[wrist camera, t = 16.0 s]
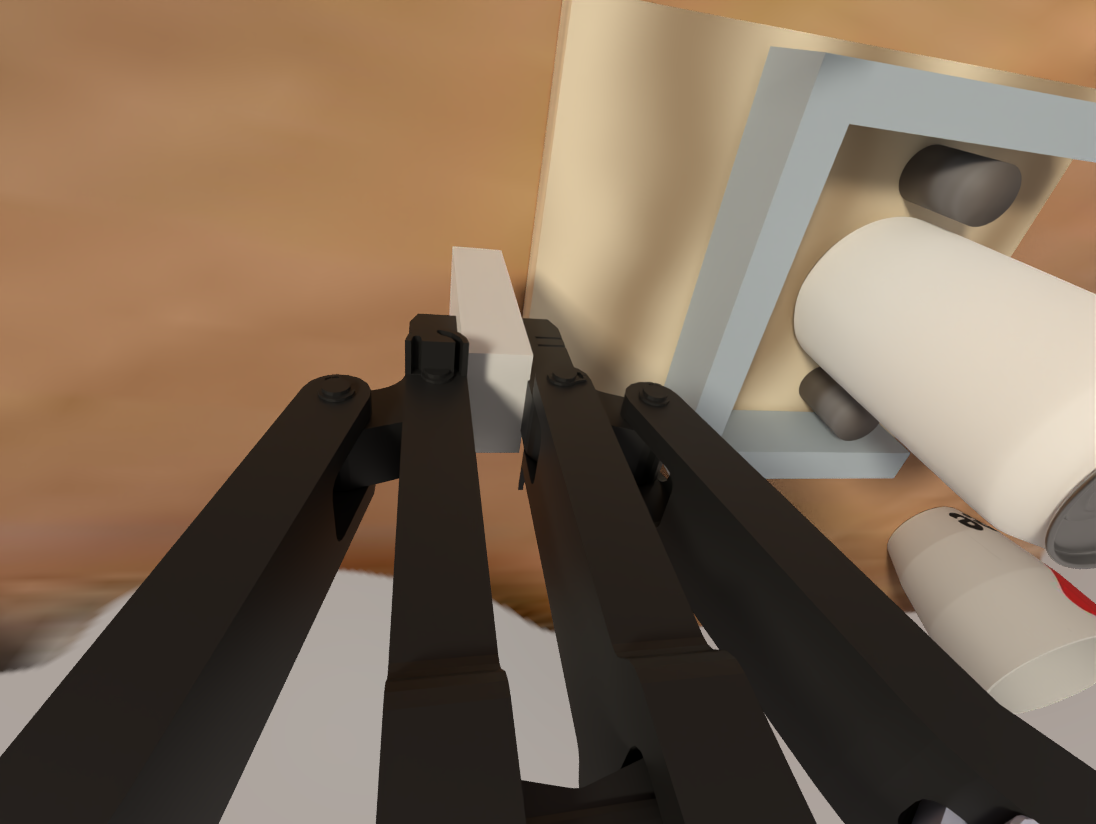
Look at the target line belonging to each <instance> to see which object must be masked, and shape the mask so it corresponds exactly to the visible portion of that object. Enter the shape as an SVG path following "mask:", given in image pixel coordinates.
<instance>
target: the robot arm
mask: <svg viewBox="0 0 1096 824" xmlns="http://www.w3.org/2000/svg"><path fill="white" fill-rule="evenodd" d="M521 436H522V440H523V444H524V453H523V459H522V466H521V472H520V479H519V487H518V490H523V485H524V482H525V484H526V489H527V494H528V499H529V504H530V509H531V514H532V519H533V524H534V529H535V534H536V539H537V544H538V549H539V554H540V559H541V564H542V569H543V574H544V579H545V584H546V589H547V593H548V598H549V603H550V608H551V613H552V618H553V623H554V628H555V633H556V638H557V642H558V647H559V653H560V658H561V663H562V668H563V672H564V678H565V683H566V688H567V692H568V697H569V702H570V708H571V713H572V718H573V722H574V727H575V733H576V737H577V743H578V749H579V788H566V787H560V786H554V785H548V784H541V783H535V782H529V781H523V780H521V776H520V769H519V760H518V752H517V744H516V736H515V728H514V720H513V712H512V704H511V696H510V689H509V683H508V679H507V675H506V672H505V671H504V670H502V669H501V667H500V664H499V657H498V649H497V640H496V631H495V622H494V614H493V604H492V595H491V586H490V577H489V568H488V559H487V550H486V542H485V533H484V524H483V515H482V506H481V497H480V488H479V479H478V470H477V461H476V453H519V450H520V443H521ZM662 464H664V465H665V467H666V468H667V469H668V471H669V472H670V475H669V477H668V479H666V478H665V477H664V476H663V475H662V473H661V472H660V470H661V467H662ZM398 478H399V491H398V508H397V526H396V543H395V560H394V578H393V596H392V612H391V613H392V614H391V630H390V647H389V665H388V676H387V680H386V683H385V691H384V703H383V718H382V735H381V750H380V766H379V782H378V799H377V815H376V824H816V821H815V819H814V817H813V815H812V813H811V811H810V809H809V807H808V805H807V802H806V800H805V798H804V796H803V794H802V792H801V790H800V788H799V786H798V784H797V781H796V779H795V777H794V776H793V773H792V771H791V769H790V767H789V765H788V763H787V760H786V759H785V756H784V754H783V752H782V750H781V748H780V746H779V744H778V741H777V740H776V737H775V735H774V733H773V731H772V729H771V727H770V725H769V723H768V721H767V718H768V719H769V721H770V722H771V723H772V725H773V726H774V728H775V729H776V730H777V732H778V733H779V735H780V736H781V737H782V739H783V740H784V742H785V743H786V745H787V746H788V747H789V749H790V750H791V752H792V753H793V754H794V756H795V757H796V759H797V760H798V762H799V763H800V764H801V766H802V767H803V769H804V770H805V771H806V773H807V774H808V776H809V777H810V779H811V780H812V781H813V783H814V784H815V785H816V787H817V788H818V790H819V791H820V792H821V793H822V795H823V796H824V797H825V799H826V800H827V801H828V803H829V804H830V805H831V807H832V808H833V809H834V810H835V812H836V813H837V814H838V816H839V817H840V818H841V820H842V821H843V822H844V823H845V824H1096V770H1094V769H1093V768H1091V767H1090V766H1088V765H1087V764H1085V763H1084V762H1083V761H1081V760H1080V759H1078V758H1077V757H1075V756H1074V755H1072V754H1071V753H1070V752H1068V751H1067V750H1065V749H1064V748H1062V747H1061V746H1059V745H1058V744H1057V743H1055V742H1054V741H1052V740H1051V739H1049V738H1048V737H1046V736H1045V735H1043V734H1042V733H1041V732H1039V731H1038V730H1036V729H1035V728H1033V727H1032V726H1030V725H1029V724H1028V723H1026V722H1025V721H1023V720H1022V719H1020V718H1019V717H1017V716H1016V715H1015V714H1013V713H1012V712H1010V711H1009V710H1007V709H1006V708H1005V707H1003V706H1002V705H1000V704H999V703H998V702H997V701H996V700H995V699H994V698H993V697H992V696H991V695H990V694H989V693H988V692H987V691H986V690H984V689H983V688H982V687H981V686H980V685H979V684H978V683H977V682H976V681H975V680H974V679H973V678H972V677H971V676H970V675H969V674H968V673H967V672H966V671H965V670H964V669H963V668H962V667H961V666H959V665H958V664H957V663H956V662H955V661H954V660H953V659H952V658H951V657H950V656H949V655H948V654H947V653H946V652H945V651H944V650H943V649H942V648H941V647H940V646H939V645H938V644H937V643H936V642H935V641H933V640H932V639H931V638H930V637H929V636H928V635H927V634H926V633H925V632H924V631H923V630H922V629H921V628H920V627H919V626H918V625H917V624H916V623H915V622H914V621H913V620H912V619H910V617H908V616H907V615H906V614H905V613H904V612H903V611H902V610H901V609H900V608H899V607H898V606H897V605H896V604H895V603H894V602H893V601H892V600H891V599H890V598H889V597H888V596H887V595H886V594H885V593H884V592H883V591H881V590H880V589H879V588H878V587H877V586H876V585H875V584H874V583H873V582H872V581H871V580H870V579H869V578H868V577H867V576H866V575H865V574H864V573H863V572H862V571H861V570H860V569H859V568H858V567H857V566H855V565H854V564H853V563H852V562H851V561H850V560H849V559H848V558H847V557H846V556H845V555H844V554H843V553H842V552H841V551H840V550H839V549H838V548H837V547H836V546H835V545H834V544H833V543H832V542H831V541H829V540H828V539H827V538H826V537H825V536H824V535H823V534H822V533H821V532H820V531H819V530H818V529H817V528H816V527H815V526H814V525H813V524H812V523H811V522H810V521H809V520H808V519H807V518H806V517H805V516H803V515H802V514H801V513H800V512H799V511H798V510H797V509H796V508H795V507H794V506H793V505H792V504H791V503H790V502H789V501H788V500H787V499H786V498H785V497H784V496H783V495H782V494H781V493H780V492H778V491H777V490H776V489H775V488H774V487H773V486H772V485H771V484H770V483H769V482H768V481H767V480H766V479H765V478H764V477H763V476H762V475H761V474H760V473H759V472H758V471H757V470H756V469H755V468H754V467H752V466H751V465H750V464H749V463H748V462H747V461H746V460H745V459H744V458H743V457H742V456H741V455H740V454H739V453H738V452H737V451H736V450H735V449H734V448H733V447H732V446H731V445H730V444H729V443H728V442H726V441H725V440H724V439H723V438H722V437H721V436H720V435H719V434H718V433H717V432H716V431H715V430H714V429H713V428H712V427H711V426H710V425H709V424H708V423H707V422H706V421H705V420H704V419H703V418H702V417H700V416H699V415H698V414H697V413H696V412H695V411H694V410H693V409H692V408H691V407H690V406H689V405H688V404H687V403H686V402H685V401H684V400H683V399H682V398H681V397H680V396H679V395H678V394H676V393H675V392H673V391H672V390H671V389H669V388H667V387H664V386H662V385H661V384H658V383H653V382H637V383H633V384H630V385H629V386H628V387H627V388H626V391H625V394H624V397H622V396H618V395H613V394H609V393H605V392H601V391H598V390H596V389H595V387H594V385H593V383H592V381H591V379H590V378H589V376H588V375H587V374H586V373H584V372H583V371H581V370H580V369H578V368H575V367H574V366H573V364H572V361H571V359H570V356H569V354H568V351H567V349H566V347H565V344H564V342H563V340H562V337H561V334H560V332H559V329H558V328H557V327H556V326H555V325H554V324H552V323H551V322H550V321H549V320H548V319H532V318H522V317H521V314H520V310H519V307H518V304H517V300H516V297H515V294H514V291H513V287H512V284H511V281H510V277H509V274H508V271H507V268H506V264H505V261H504V258H503V254H502V251H501V250H491V249H479V248H467V247H455V246H453V249H452V271H451V293H450V315H433V314H418V315H416V316H415V317H414V318H413V319H412V320H411V321H410V327H409V334H408V336H407V338H406V340H405V377H404V378H403V379H402V380H401V381H399V382H398V383H396V384H394V385H392V386H390V387H386V388H382V389H378V390H371V389H370V387H369V385H368V384H367V383H366V382H364V381H363V380H361V379H360V378H357V377H353V376H349V375H339V374H336V375H327V376H322V377H320V378H317V379H314V380H312V381H310V382H309V383H307V384H306V385H305V386H304V387H303V388H302V389H301V390H300V391H299V393H298V394H297V395H296V396H295V397H294V399H293V400H292V401H291V402H290V404H289V405H288V406H287V407H286V408H285V410H284V411H283V412H282V413H281V415H280V416H279V417H278V418H277V419H276V421H275V422H274V423H273V424H272V426H271V427H270V428H269V429H268V430H267V432H266V433H265V434H264V435H263V437H262V438H261V439H260V440H259V441H258V443H257V444H256V445H255V446H254V448H253V449H252V450H251V451H250V452H249V454H248V455H247V456H246V457H245V459H244V460H243V461H242V462H241V463H240V465H239V466H238V467H237V468H236V470H235V471H234V472H233V473H232V474H231V476H230V477H229V478H228V479H227V481H226V482H225V483H224V484H223V485H222V487H221V488H220V489H219V490H218V492H217V493H216V494H215V495H214V496H213V498H212V499H211V500H210V501H209V503H208V504H207V505H206V506H205V507H204V509H203V510H202V511H201V512H200V514H199V515H198V516H197V517H196V518H195V520H194V521H193V522H192V523H191V525H190V526H189V527H188V528H187V529H186V531H185V532H184V533H183V534H182V536H181V537H180V538H179V539H178V540H177V542H176V543H175V544H174V545H173V547H172V548H171V549H170V550H169V551H168V553H167V554H166V555H165V556H164V558H163V559H162V560H161V561H160V562H159V564H158V565H157V566H156V567H155V569H154V570H153V571H152V572H151V573H150V575H149V576H148V577H147V578H146V580H145V581H144V582H143V583H142V584H141V586H140V587H139V588H138V589H137V590H136V592H135V593H134V594H133V595H132V597H131V598H130V599H129V600H128V601H127V603H126V604H125V605H124V606H123V608H122V609H121V610H120V611H119V612H118V614H117V615H116V616H115V617H114V619H113V620H112V621H111V622H110V624H109V625H108V626H107V627H106V628H105V630H104V631H103V632H102V633H101V634H100V636H99V637H98V638H97V639H96V641H95V642H94V643H93V644H92V645H91V647H90V648H89V649H88V650H87V652H86V653H85V654H84V655H83V656H82V658H81V659H80V660H79V661H78V663H77V664H76V665H75V666H74V667H73V669H72V670H71V671H70V672H69V674H68V675H67V676H66V677H65V678H64V680H63V681H62V682H61V684H60V685H59V686H58V687H57V688H56V689H55V691H54V692H53V693H52V694H51V696H50V697H49V698H48V700H46V702H45V703H44V704H43V705H42V707H41V708H40V709H39V711H38V712H37V713H36V714H35V715H34V716H33V718H32V719H31V720H30V721H29V723H28V724H27V725H26V726H25V727H24V729H23V730H22V731H21V732H20V733H19V735H18V736H17V737H16V738H15V740H14V741H13V742H12V743H11V744H10V746H9V747H8V748H7V749H6V751H5V752H4V753H3V754H2V755H1V757H0V824H219V822H220V820H221V817H222V815H223V813H224V811H225V809H226V807H227V805H228V803H229V800H230V798H231V796H232V794H233V792H234V790H235V788H236V786H237V784H238V781H239V779H240V777H241V775H242V773H243V771H244V768H245V766H246V764H247V762H248V760H249V758H250V756H251V754H252V752H253V750H254V747H255V745H256V743H257V741H258V739H259V737H260V735H261V732H262V730H263V728H264V726H265V724H266V722H267V720H268V718H269V716H270V713H271V711H272V709H273V707H274V705H275V703H276V700H277V699H278V696H279V694H280V692H281V690H282V688H283V686H284V684H285V682H286V679H287V677H288V675H289V673H290V671H291V669H292V667H293V664H294V662H295V660H296V658H297V656H298V654H299V652H300V650H301V647H302V645H303V643H304V641H305V639H306V637H307V634H308V633H309V630H310V628H311V626H312V624H313V622H314V620H315V618H316V615H317V613H318V611H319V609H320V607H321V605H322V603H323V601H324V599H325V597H326V594H327V592H328V590H329V588H330V586H331V584H332V582H333V579H334V577H335V575H336V573H337V571H338V569H339V567H340V565H341V563H342V560H343V558H344V556H345V554H346V552H347V550H348V548H349V546H350V543H351V541H352V539H353V537H354V535H355V533H356V531H357V529H358V526H359V524H360V522H361V520H362V518H363V516H364V514H365V512H366V509H367V507H368V505H369V503H370V501H371V499H372V497H373V495H374V491H375V484H378V483H382V482H386V481H390V480H394V479H398ZM693 613H694V614H695V616H696V617H697V619H698V620H699V621H700V623H701V624H702V626H703V627H704V629H705V630H706V631H707V633H708V634H709V636H710V637H711V638H712V640H713V641H714V643H715V644H716V646H717V647H718V648H719V650H714V649H712V648H711V647H710V646H709V645H708V644H707V642H706V641H705V639H704V637H703V635H702V633H701V630H700V628H699V626H698V623H697V621H696V619H695V616H694V614H693ZM764 713H765V714H764ZM765 715H766V716H767V718H766V716H765Z"/></svg>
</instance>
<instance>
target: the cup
mask: <svg viewBox="0 0 1096 824" xmlns="http://www.w3.org/2000/svg"><path fill="white" fill-rule="evenodd" d="M887 549H888V552H889V555H890V557H891V560H892V562H893V565H894V567H895V570H896V573H897V575H898V578H899V580H900V583H901V586H902V588H903V590H904V591H905V593H906V595H907V597H908V598H909V600H910V602H911V604H912V606H913V607H914V609H915V611H916V613H917V615H918V616H919V618H920V620H921V622H922V623H923V625H924V627H925V629H926V630H927V632H928V634H929V636H930V638H931V639H932V640H933V641H935V642H936V643H937V644H938V645H939V646H940V647H941V648H942V649H943V650H944V651H945V652H946V653H947V654H948V655H949V656H950V657H951V658H952V659H953V660H954V661H955V662H956V663H957V664H958V665H959V666H961V667H962V668H963V669H964V670H965V671H966V672H967V673H968V674H969V675H970V676H971V677H972V678H973V679H974V680H975V681H976V682H977V683H978V684H979V685H980V686H981V687H982V688H983V689H984V690H986V691H987V692H988V693H989V694H990V695H991V696H992V697H993V698H994V699H995V700H996V701H997V702H998V703H999V704H1000V705H1002V706H1003V707H1005V708H1006V709H1007V710H1009V711H1010V712H1012V713H1013V714H1019V713H1023V712H1027V711H1032V710H1035V709H1039V708H1042V707H1045V706H1048V705H1050V704H1053V703H1056V702H1059V701H1061V700H1064V699H1066V698H1068V697H1071V696H1072V695H1075V694H1077V693H1079V692H1081V691H1083V690H1085V689H1087V688H1089V687H1091V686H1092V685H1094V684H1096V604H1095V603H1094V602H1092V601H1091V600H1090V599H1089V598H1088V597H1086V596H1085V595H1084V594H1083V593H1082V592H1080V591H1079V590H1078V589H1077V588H1076V587H1074V586H1073V585H1072V584H1071V583H1070V582H1068V581H1067V580H1066V579H1065V578H1063V577H1062V576H1061V575H1060V574H1059V573H1057V572H1056V571H1055V570H1053V569H1052V568H1050V567H1049V566H1047V565H1046V564H1045V563H1043V562H1042V561H1040V560H1039V559H1037V558H1036V557H1034V556H1033V555H1032V554H1030V553H1029V552H1027V551H1026V550H1024V549H1023V548H1021V547H1020V546H1019V545H1017V544H1016V543H1014V542H1013V541H1011V540H1010V539H1008V538H1007V537H1005V536H1004V535H1003V534H1001V533H1000V532H998V531H997V530H995V529H993V528H991V527H989V526H987V525H985V524H983V523H981V522H979V521H978V520H976V519H974V518H972V517H970V516H968V515H966V514H964V513H962V512H961V511H959V510H957V509H955V508H952V507H938V508H933V509H930V510H927V511H924V512H922V513H919V514H917V515H915V516H914V517H912V518H910V519H909V520H907V521H906V522H904V523H903V524H902V525H901V526H900V527H899V528H897V529H896V531H895V532H894V533H893V534H892V536H891V537H890V539H889V541H888V545H887Z"/></svg>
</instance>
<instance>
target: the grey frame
mask: <svg viewBox="0 0 1096 824" xmlns="http://www.w3.org/2000/svg"><path fill="white" fill-rule="evenodd" d="M849 124H853V125H859V126H866V127H872V128H879V129H885V130H891V131H898V132H904V133H911V134H917V135H923V136H930V137H936V138H943V139H949V140H955V141H962V142H968V143H975V144H981V145H987V146H994V147H1000V148H1007V149H1013V150H1019V151H1026V152H1032V153H1039V154H1045V155H1051V156H1058V157H1064V158H1071V159H1077V160H1083V161H1090V162H1096V103H1095V102H1089V101H1084V100H1079V99H1073V98H1068V97H1063V96H1057V95H1052V94H1047V93H1041V92H1036V91H1030V90H1025V89H1020V88H1014V87H1009V86H1004V85H998V84H993V83H988V82H982V81H977V80H971V79H966V78H961V77H955V76H950V75H945V74H939V73H934V72H929V71H923V70H918V69H913V68H907V67H902V66H896V65H891V64H886V63H880V62H875V61H870V60H864V59H859V58H854V57H848V56H843V55H837V54H832V53H827V52H818V51H809V50H800V49H791V48H782V47H773V46H770V49H769V52H768V55H767V59H766V62H765V65H764V68H763V71H762V75H761V78H760V81H759V84H758V87H757V91H756V94H755V97H754V100H753V103H752V107H751V110H750V113H749V116H748V119H747V123H746V126H745V129H744V132H743V135H742V138H741V142H740V145H739V148H738V151H737V154H736V158H735V161H734V164H733V167H732V170H731V174H730V177H729V180H728V183H727V186H726V190H725V193H724V196H723V199H722V202H721V206H720V209H719V212H718V215H717V218H716V222H715V225H714V228H713V231H712V234H711V237H710V241H709V244H708V247H707V250H706V253H705V257H704V260H703V263H702V266H701V269H700V273H699V276H698V279H697V282H696V285H695V289H694V292H693V295H692V298H691V301H690V305H689V308H688V311H687V314H686V317H685V320H684V324H683V327H682V330H681V333H680V336H679V340H678V343H677V346H676V349H675V352H674V356H673V359H672V362H671V365H670V368H669V372H668V375H667V378H666V381H665V384H664V387H667V388H669V389H671V390H672V391H673V392H675V393H676V394H678V395H679V396H680V397H681V398H682V399H683V400H684V401H685V402H686V403H687V404H688V405H689V406H690V407H691V408H692V409H693V410H694V411H695V412H696V413H697V414H698V415H699V416H700V417H702V418H703V419H704V420H705V421H706V422H707V423H708V424H709V425H710V426H711V427H712V428H713V429H714V430H715V431H716V432H717V433H718V434H719V435H720V436H721V437H722V438H723V439H724V440H725V441H726V442H728V443H729V444H730V445H731V446H732V447H733V448H734V449H735V450H736V451H737V452H738V453H739V454H740V455H741V456H742V457H743V458H744V459H745V460H746V461H747V462H748V463H749V464H750V465H751V466H752V467H754V468H755V469H756V470H757V471H758V472H759V473H760V474H761V475H762V476H763V477H764V478H765V479H818V478H894V477H895V475H896V474H897V472H898V471H899V469H900V468H901V467H902V465H903V464H904V462H905V461H906V459H907V458H908V456H909V455H910V452H909V451H908V450H907V449H906V448H905V447H904V446H903V445H901V444H900V443H899V442H898V441H897V440H896V439H895V438H894V437H893V436H892V435H891V434H890V433H889V432H888V431H887V430H885V429H884V428H883V427H882V426H881V425H880V424H878V425H877V427H876V428H875V429H874V430H873V431H872V432H870V433H869V434H868V435H866V436H864V437H862V438H860V439H857V440H853V441H844V440H841V439H840V438H839V437H838V436H837V435H836V434H835V433H834V432H833V431H832V430H831V429H830V428H829V427H828V426H827V424H826V423H825V422H824V421H823V420H822V419H821V418H820V417H819V416H818V415H817V414H816V413H815V412H796V411H756V410H732V409H733V407H734V404H735V402H736V399H737V397H738V394H739V392H740V390H741V387H742V385H743V382H744V380H745V377H746V375H747V373H748V370H749V368H750V365H751V363H752V360H753V358H754V355H755V353H756V351H757V348H758V346H759V343H760V341H761V338H762V336H763V333H764V331H765V329H766V326H767V324H768V321H769V319H770V316H771V314H772V311H773V309H774V307H775V304H776V302H777V299H778V297H779V294H780V292H781V290H782V287H783V285H784V282H785V280H786V277H787V275H788V272H789V270H790V268H791V265H792V263H793V260H794V258H795V255H796V253H797V250H798V248H799V246H800V243H801V241H802V238H803V236H804V233H805V231H806V228H807V226H808V224H809V221H810V219H811V216H812V214H813V211H814V209H815V207H816V204H817V202H818V199H819V197H820V194H821V192H822V189H823V187H824V185H825V182H826V180H827V177H828V175H829V172H830V170H831V167H832V165H833V163H834V160H835V158H836V155H837V153H838V150H839V148H840V145H841V143H842V141H843V138H844V136H845V133H846V131H847V128H848V126H849ZM664 466H665V465H664ZM665 468H666V467H665ZM666 470H667V472H668V474H669V475H670V472H669V471H668V469H667V468H666Z"/></svg>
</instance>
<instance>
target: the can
mask: <svg viewBox="0 0 1096 824" xmlns="http://www.w3.org/2000/svg"><path fill="white" fill-rule="evenodd" d="M794 330H795V335H796V338H797V340H798V342H799V344H800V346H801V347H802V348H803V350H804V351H805V352H806V353H807V354H808V355H809V356H810V357H811V358H812V359H813V360H814V361H815V362H816V363H817V364H818V365H819V366H820V367H821V368H822V369H823V370H824V371H825V372H827V373H828V374H829V375H830V376H831V377H832V378H833V379H834V380H835V381H836V382H837V383H838V384H839V385H840V386H841V387H842V388H843V389H845V390H846V391H847V392H848V393H849V394H850V395H851V396H852V397H853V398H854V399H855V400H856V401H857V402H858V403H859V404H861V405H862V406H863V407H864V408H865V409H866V410H867V411H868V412H869V413H870V414H871V415H872V416H873V417H874V418H875V419H877V420H878V421H879V422H880V423H881V424H882V425H883V426H884V427H885V428H886V429H887V430H888V431H889V432H890V433H892V434H893V435H894V436H895V437H896V438H897V439H898V440H899V441H900V442H901V443H902V444H903V445H904V446H905V447H907V448H908V449H909V450H910V451H911V452H912V453H913V454H914V455H915V456H916V457H917V458H918V459H919V460H920V461H922V462H923V463H924V464H925V465H926V466H927V467H928V468H929V469H930V470H931V471H932V472H933V473H934V474H936V475H937V476H938V477H939V478H940V479H941V480H942V481H943V482H944V483H945V484H946V485H947V486H949V487H950V488H951V489H952V490H953V491H954V492H955V493H956V494H957V495H958V496H959V497H961V498H962V499H963V500H964V501H965V502H966V503H967V504H968V505H969V506H970V507H971V508H973V509H974V510H975V511H976V512H977V513H978V514H979V515H981V516H982V517H983V518H984V519H985V520H986V521H987V522H989V523H990V524H991V525H993V526H994V527H995V528H997V529H998V530H1000V531H1002V532H1004V533H1006V534H1008V535H1011V536H1013V537H1015V538H1018V539H1021V540H1023V541H1026V542H1029V543H1032V544H1034V545H1037V546H1040V547H1042V548H1044V549H1046V551H1047V553H1048V555H1049V556H1050V557H1051V559H1052V560H1054V561H1055V562H1056V563H1058V564H1060V565H1062V566H1065V567H1068V568H1075V569H1090V568H1096V294H1094V293H1091V292H1089V291H1087V290H1085V289H1082V288H1080V287H1078V286H1075V285H1073V284H1071V283H1068V282H1066V281H1064V280H1062V279H1059V278H1057V277H1055V276H1052V275H1050V274H1048V273H1045V272H1043V271H1041V270H1039V269H1036V268H1034V267H1032V266H1029V265H1027V264H1025V263H1022V262H1020V261H1018V260H1015V259H1013V258H1011V257H1008V256H1006V255H1004V254H1002V253H999V252H997V251H995V250H992V249H990V248H988V247H985V246H983V245H981V244H978V243H976V242H974V241H971V240H969V239H967V238H964V237H962V236H960V235H957V234H955V233H953V232H950V231H948V230H945V229H943V228H941V227H938V226H936V225H933V224H931V223H928V222H926V221H923V220H920V219H916V218H912V217H891V218H886V219H882V220H878V221H875V222H872V223H870V224H867V225H865V226H863V227H861V228H859V229H857V230H855V231H854V232H852V233H850V234H849V235H847V236H846V237H844V238H843V239H841V240H840V241H838V242H837V243H836V244H835V245H833V246H832V247H831V248H830V249H829V250H828V251H827V252H826V253H825V254H824V255H823V256H822V257H821V258H820V259H819V260H818V261H817V263H816V264H815V265H814V266H813V268H812V269H811V270H810V272H809V273H808V275H807V276H806V278H805V280H804V282H803V284H802V286H801V288H800V291H799V294H798V297H797V301H796V305H795V312H794Z"/></svg>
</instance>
